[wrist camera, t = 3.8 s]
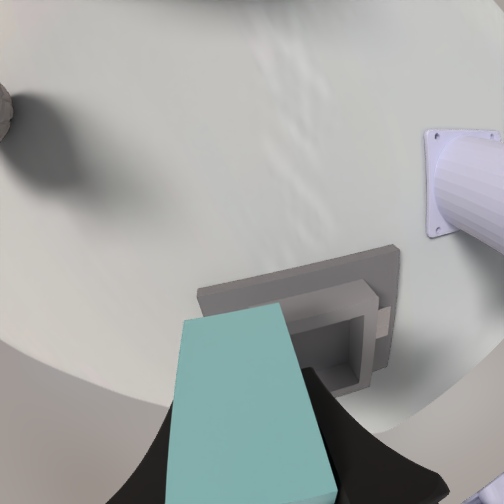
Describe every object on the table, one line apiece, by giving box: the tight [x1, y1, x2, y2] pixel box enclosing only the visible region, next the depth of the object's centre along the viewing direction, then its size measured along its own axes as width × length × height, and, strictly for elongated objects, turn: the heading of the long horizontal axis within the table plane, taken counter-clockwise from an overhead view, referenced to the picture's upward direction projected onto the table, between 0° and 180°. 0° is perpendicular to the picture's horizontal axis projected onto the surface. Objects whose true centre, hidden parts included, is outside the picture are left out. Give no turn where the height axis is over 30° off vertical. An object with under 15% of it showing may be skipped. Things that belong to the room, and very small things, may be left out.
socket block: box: [197, 244, 400, 398], centre depth 20 cm, size 14×12×4 cm
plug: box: [165, 302, 338, 504], centre depth 8 cm, size 4×5×10 cm
